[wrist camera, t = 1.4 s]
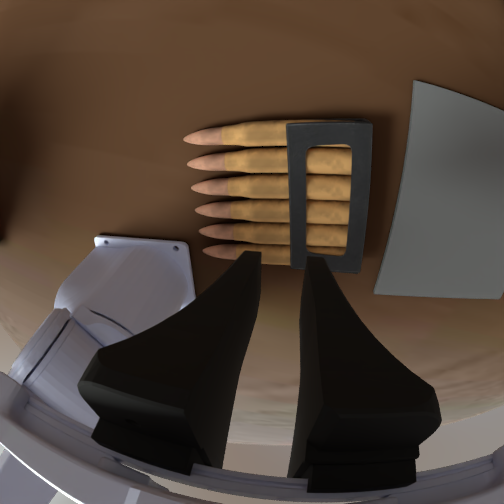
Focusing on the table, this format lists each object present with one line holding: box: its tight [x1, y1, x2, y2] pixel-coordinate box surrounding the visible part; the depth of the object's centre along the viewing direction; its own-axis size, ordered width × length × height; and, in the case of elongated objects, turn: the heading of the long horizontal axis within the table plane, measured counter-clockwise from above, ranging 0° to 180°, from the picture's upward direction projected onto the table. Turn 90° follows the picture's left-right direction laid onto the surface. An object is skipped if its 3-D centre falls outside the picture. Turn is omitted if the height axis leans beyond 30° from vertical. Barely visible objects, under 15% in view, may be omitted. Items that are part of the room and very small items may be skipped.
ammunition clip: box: [183, 119, 372, 274], centre depth 19 cm, size 11×2×12 cm
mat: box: [373, 80, 504, 299], centre depth 18 cm, size 15×17×1 cm
